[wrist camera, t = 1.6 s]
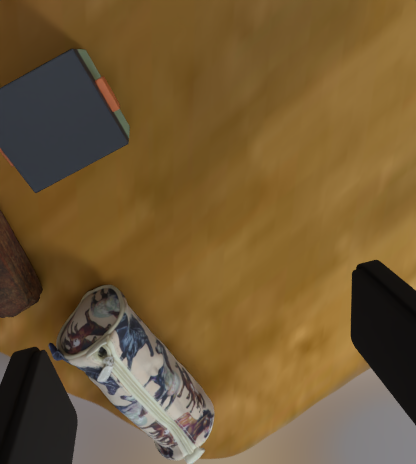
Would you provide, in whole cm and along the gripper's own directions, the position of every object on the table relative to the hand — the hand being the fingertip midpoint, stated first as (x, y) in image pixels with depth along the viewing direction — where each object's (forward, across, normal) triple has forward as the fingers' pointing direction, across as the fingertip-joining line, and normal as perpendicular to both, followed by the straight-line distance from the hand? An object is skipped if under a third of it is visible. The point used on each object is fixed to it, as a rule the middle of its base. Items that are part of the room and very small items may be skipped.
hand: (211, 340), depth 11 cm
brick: (+27, +17, +7) cm, 33 cm away
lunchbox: (+27, +7, -4) cm, 28 cm away
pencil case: (+27, +7, +24) cm, 37 cm away
